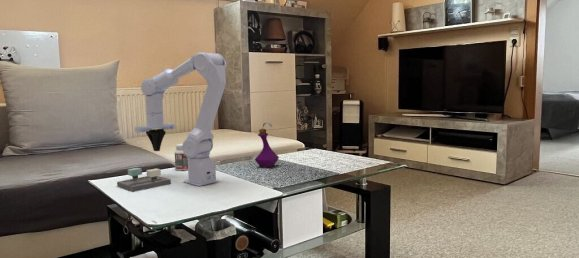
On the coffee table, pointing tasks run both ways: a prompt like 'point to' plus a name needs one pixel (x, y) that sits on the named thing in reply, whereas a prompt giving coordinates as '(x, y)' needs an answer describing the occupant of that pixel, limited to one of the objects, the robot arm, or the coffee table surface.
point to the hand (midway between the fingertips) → (156, 150)
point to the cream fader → (153, 173)
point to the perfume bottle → (266, 151)
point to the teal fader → (134, 172)
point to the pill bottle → (180, 159)
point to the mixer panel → (143, 183)
